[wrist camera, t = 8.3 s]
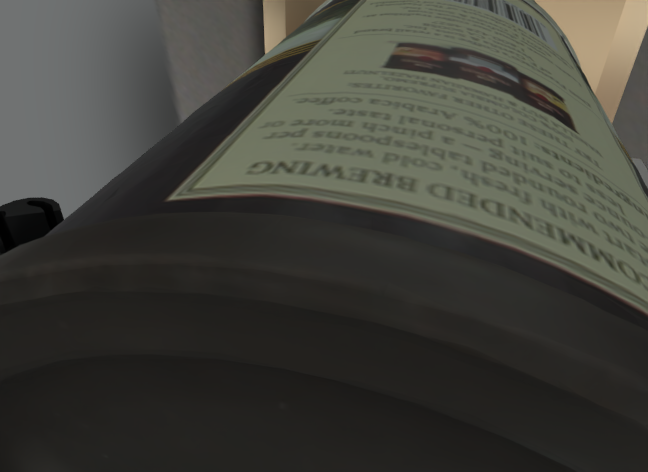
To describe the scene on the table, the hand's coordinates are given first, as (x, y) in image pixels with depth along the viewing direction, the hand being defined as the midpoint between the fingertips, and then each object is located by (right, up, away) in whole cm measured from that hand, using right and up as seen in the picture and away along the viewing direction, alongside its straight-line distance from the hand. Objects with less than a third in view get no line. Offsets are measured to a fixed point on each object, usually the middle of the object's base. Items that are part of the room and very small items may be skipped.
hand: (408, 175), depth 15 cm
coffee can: (+1, +2, +2) cm, 3 cm away
